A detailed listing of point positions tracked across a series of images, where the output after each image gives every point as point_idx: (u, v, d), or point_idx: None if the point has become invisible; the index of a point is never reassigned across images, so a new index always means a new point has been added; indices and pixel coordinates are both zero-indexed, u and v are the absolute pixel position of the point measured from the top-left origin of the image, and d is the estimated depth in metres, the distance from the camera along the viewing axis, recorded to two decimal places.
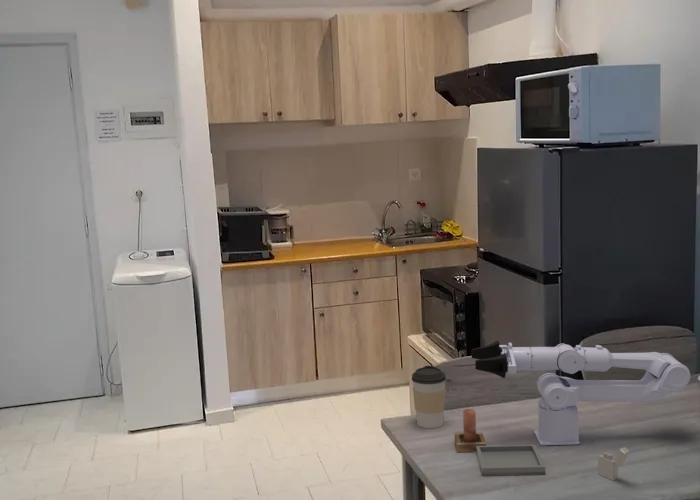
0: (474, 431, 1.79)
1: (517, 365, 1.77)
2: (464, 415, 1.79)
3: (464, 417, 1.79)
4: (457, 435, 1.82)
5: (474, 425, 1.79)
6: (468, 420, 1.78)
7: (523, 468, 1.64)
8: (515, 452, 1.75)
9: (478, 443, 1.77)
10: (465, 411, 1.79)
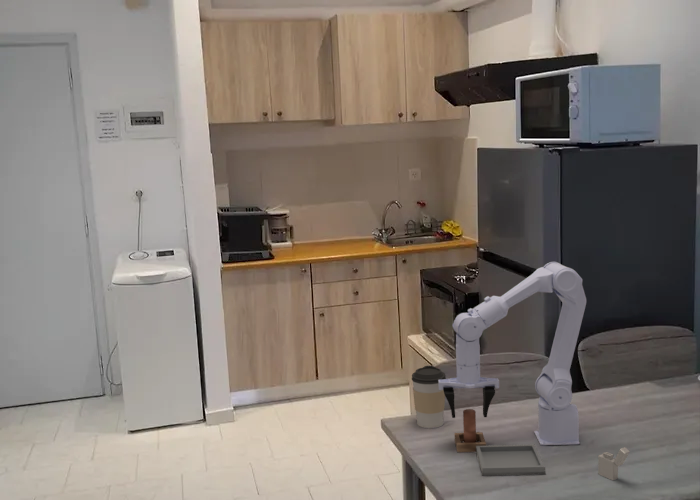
0: (474, 431, 1.79)
1: None
2: (464, 415, 1.79)
3: (464, 417, 1.79)
4: (457, 435, 1.82)
5: (474, 425, 1.79)
6: (468, 420, 1.78)
7: (523, 468, 1.64)
8: (515, 452, 1.75)
9: (478, 443, 1.77)
10: (465, 411, 1.79)
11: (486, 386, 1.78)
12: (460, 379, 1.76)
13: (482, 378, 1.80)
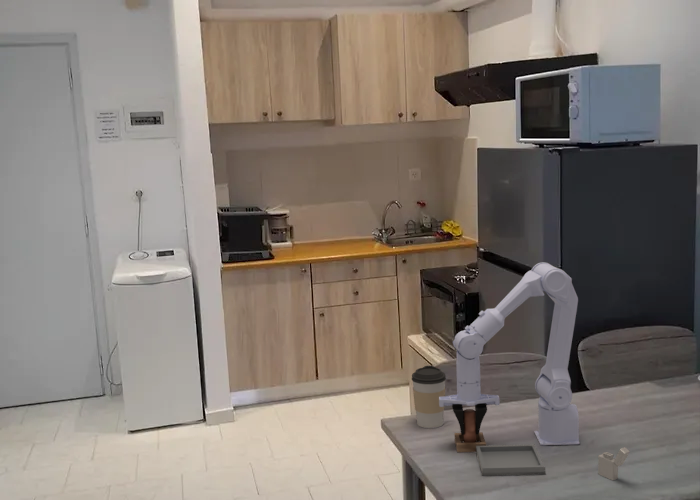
0: (474, 431, 1.79)
1: None
2: (464, 415, 1.79)
3: (464, 417, 1.79)
4: (457, 435, 1.82)
5: (474, 425, 1.79)
6: (468, 420, 1.78)
7: (523, 468, 1.64)
8: (515, 452, 1.75)
9: (478, 443, 1.77)
10: (465, 411, 1.79)
11: (486, 403, 1.78)
12: (460, 397, 1.77)
13: (482, 395, 1.80)
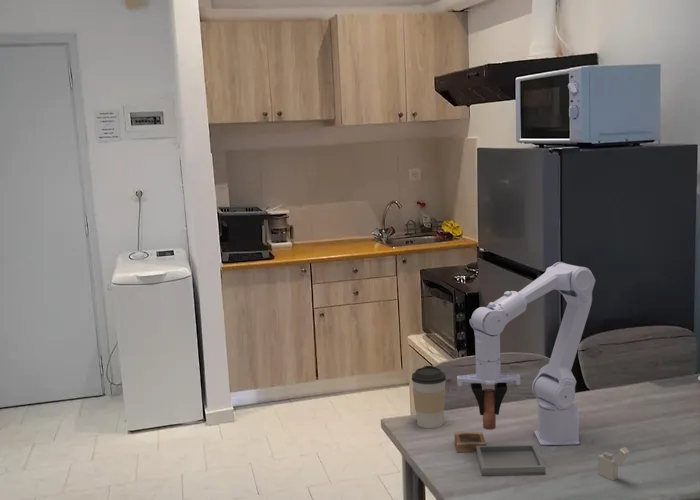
0: (494, 411, 1.73)
1: None
2: (483, 395, 1.73)
3: (484, 396, 1.72)
4: (457, 435, 1.82)
5: (494, 405, 1.72)
6: (487, 400, 1.72)
7: (523, 468, 1.64)
8: (515, 452, 1.75)
9: (478, 443, 1.77)
10: (484, 391, 1.73)
11: (507, 382, 1.72)
12: (479, 376, 1.71)
13: (502, 374, 1.74)
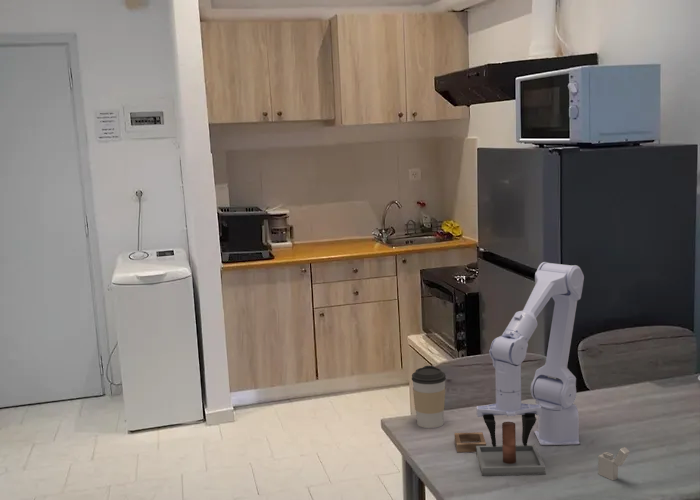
0: (514, 445, 1.69)
1: None
2: (503, 428, 1.68)
3: (504, 430, 1.68)
4: (457, 435, 1.82)
5: (514, 439, 1.68)
6: (508, 433, 1.68)
7: (523, 468, 1.64)
8: None
9: (478, 443, 1.77)
10: (504, 424, 1.69)
11: (527, 413, 1.68)
12: (500, 406, 1.67)
13: (523, 404, 1.70)
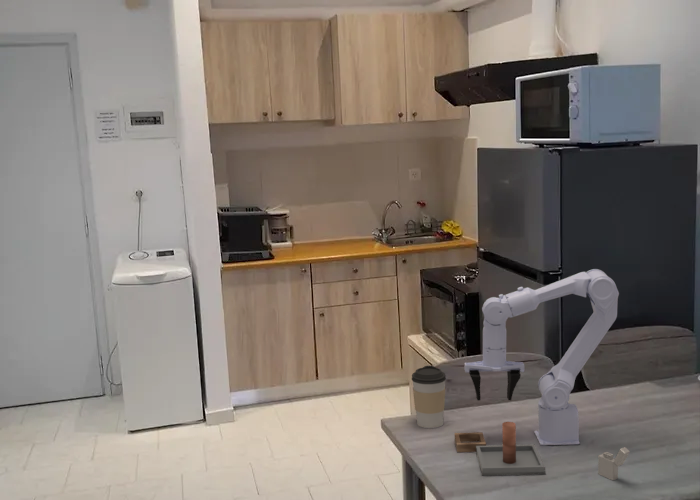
0: (514, 445, 1.69)
1: None
2: (504, 428, 1.68)
3: (504, 430, 1.68)
4: (457, 435, 1.82)
5: (514, 439, 1.68)
6: (508, 433, 1.68)
7: (523, 468, 1.64)
8: None
9: (478, 443, 1.77)
10: (504, 424, 1.69)
11: (511, 370, 1.81)
12: (486, 363, 1.80)
13: (507, 362, 1.83)
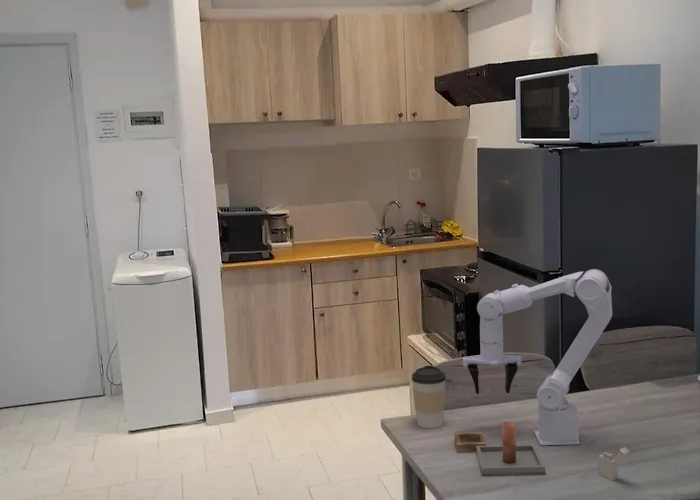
0: (514, 445, 1.69)
1: None
2: (503, 428, 1.68)
3: (504, 430, 1.68)
4: (457, 435, 1.82)
5: (514, 439, 1.68)
6: (508, 433, 1.68)
7: (523, 468, 1.64)
8: None
9: (478, 443, 1.77)
10: (504, 424, 1.69)
11: (509, 363, 1.86)
12: (484, 357, 1.84)
13: (505, 356, 1.88)
